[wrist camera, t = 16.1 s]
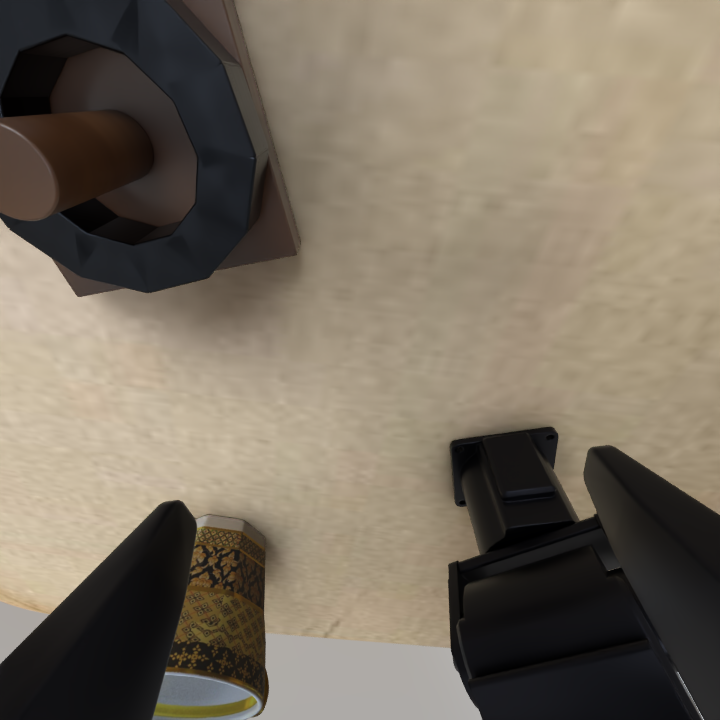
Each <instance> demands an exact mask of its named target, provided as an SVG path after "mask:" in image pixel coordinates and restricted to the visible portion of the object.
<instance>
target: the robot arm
mask: <svg viewBox="0 0 720 720" xmlns="http://www.w3.org/2000/svg"><path fill="white" fill-rule="evenodd" d="M557 442H558V433H557V432H556V430H555V429H554V428H552V427H545V428H538V429H531V430H523V431H516V432H509V433H502V434H495V435H488V436H481V437H473V438H466V439H459V440H455V441H453V442H452V443H451V444H450V452H451V464H452V476H453V489H454V499H455V503H456V505H457V506H460V507H464V506H467V508H468V512H469V515H470V519H471V523H472V526H473V530H474V534H475V537H476V541H477V545H478V549H479V552H480V555H479V556H476V557H473V558H470V559H467V560H464V561H461V562H459V561H455V562H452V563H449V565H448V567H449V579H448V588H449V613H450V639H451V652H452V655H453V663H454V666H455V668H456V670H457V671H458V672H459V674H460V677H461V679H462V682H463V684H464V687H465V689H466V691H467V693H468V695H469V697H470V699H471V700H472V702H473V703H474V705H475V706H476V707H477V708H478V709H479V711H480V714H481V717H482V720H703V719H704V720H720V515H719V514H717V513H716V512H714V511H713V510H711V509H709V508H708V507H706V506H705V505H703V504H702V503H700V502H699V501H697V500H696V499H694V498H692V497H691V496H689V495H688V494H686V493H685V492H683V491H682V490H680V489H679V488H677V487H676V486H674V485H672V484H671V483H669V482H668V481H666V480H665V479H663V478H662V477H660V476H659V475H657V474H656V473H654V472H652V471H651V470H649V469H648V468H646V467H645V466H643V465H642V464H640V463H639V462H637V461H635V460H634V459H632V458H631V457H629V456H628V455H626V454H625V453H623V452H622V451H620V450H619V449H617V448H615V447H613V446H610V445H605V446H597V447H591V448H590V449H589V450H588V453H587V458H586V463H585V468H584V481H585V484H586V487H587V489H588V491H589V494H590V496H591V499H592V501H593V503H594V506H595V508H596V511H597V514H594V517H591V518H588V519H585V520H582V521H580V520H579V518H578V516H577V514H576V513H575V511H574V509H573V507H572V505H571V503H570V501H569V499H568V497H567V495H566V494H565V492H564V490H563V488H562V486H561V484H560V482H559V480H558V478H557V476H556V474H555V473H554V471H553V469H554V463H555V456H556V449H557ZM458 447H459V448H458ZM196 534H197V522H196V520H195V518H194V517H193V515H192V514H191V513H190V511H189V510H188V508H187V507H186V506H185V504H184V503H183V502H182V501H180V500H175V501H168V502H163V503H161V504H160V505H159V506H158V507H157V508H156V509H155V510H154V511H153V512H152V513H151V514H150V515H149V516H148V517H147V518H146V519H145V520H144V521H143V522H142V523H141V524H140V525H139V526H138V527H137V528H136V529H135V530H134V531H133V532H132V533H131V534H130V535H129V536H128V537H127V538H126V539H125V540H124V541H123V542H122V543H121V544H120V545H119V546H118V547H117V548H116V549H115V550H114V551H113V552H112V553H111V554H110V555H109V556H108V557H107V558H106V559H105V560H104V561H103V562H102V563H101V564H100V565H99V566H98V567H97V568H96V569H95V570H94V571H93V572H92V573H91V574H90V575H89V576H88V577H87V578H86V579H85V580H84V581H83V582H82V583H81V584H80V585H79V586H78V587H77V588H76V589H75V590H74V591H73V592H72V593H71V594H70V595H69V596H68V597H67V598H66V599H65V600H64V601H63V602H62V603H61V604H60V605H59V606H58V607H57V608H56V609H55V610H54V611H53V612H52V613H51V614H50V615H49V616H48V617H47V618H46V619H45V620H44V621H43V622H42V623H41V624H40V625H39V626H38V627H37V628H36V629H35V630H34V631H33V632H32V633H31V634H30V635H29V636H28V637H27V638H26V639H25V640H24V641H23V642H22V643H21V644H20V645H19V646H18V647H17V648H16V649H15V650H14V651H13V652H12V653H11V654H10V655H9V656H8V657H7V658H6V659H5V660H4V661H3V662H2V663H1V664H0V720H152V719H153V715H154V712H155V708H156V704H157V701H158V697H159V693H160V690H161V686H162V682H163V679H164V675H165V671H166V668H167V664H168V660H169V657H170V653H171V649H172V646H173V642H174V638H175V635H176V631H177V627H178V624H179V620H180V616H181V613H182V609H183V605H184V601H185V596H186V591H187V586H188V580H189V575H190V569H191V563H192V557H193V551H194V546H195V540H196ZM619 567H620V568H619ZM616 568H617V569H616ZM612 569H613V570H612ZM609 570H610V571H609ZM677 672H679V674H680V676H681V678H682V680H683V681H684V683H683V682H682V680H681V678H680V676H679V674H678V673H677ZM684 684H685V685H686V687H687V689H688V691H689V692H688V691H687V689H686V687H685V685H684ZM689 693H690V694H691V696H692V698H693V700H694V701H693V700H692V698H691V696H690V694H689ZM694 702H695V703H694ZM695 704H696V705H695ZM696 706H697V707H698V709H699V711H700V713H701V715H702V717H703V719H702V717H701V715H700V713H699V711H698V709H697V707H696Z"/></svg>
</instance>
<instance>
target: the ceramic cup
mask: <svg viewBox="0 0 720 720" xmlns="http://www.w3.org/2000/svg"><path fill="white" fill-rule="evenodd" d="M195 520H196V522H197V534H196V540H195V546H194V551H193V557H192V563H191V569H190V575H189V580H188V586H187V591H186V596H185V601H184V605H183V609H182V613H181V616H180V620H179V624H178V627H177V631H176V635H175V638H174V642H173V646H172V649H171V653H170V657H169V660H168V664H167V668H166V671H165V675H164V679H163V682H162V686H161V690H160V693H159V697H158V701H157V704H156V708H155V712H154V715H153V719H152V720H246V719H248V718H251V717H256V716H258V715H260V714H261V713H262V711H263V710H264V708H265V705H266V702H267V698H268V692H269V684H268V676H267V672H266V669H265V645H266V642H265V622H264V594H265V554H266V552H265V545H266V542H265V538H264V536H263V535H262V534H261V533H259V532H258V531H257V530H256V529H254V528H253V527H252V526H251V525H249V524H248V523H247V522H245V521H244V520H241V519H234V518H227V517H221V516H214V515H206V516H203V517H200V518H198V519H195Z"/></svg>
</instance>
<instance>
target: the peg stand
mask: <svg viewBox="0 0 720 720" xmlns="http://www.w3.org/2000/svg"><path fill="white" fill-rule="evenodd" d="M182 1H183V3H184V4H185V5H186V6H187V7H188V8H189V9H190V10H191V11H192V12H193V14H194V15H195V16H196V17H197V18H198V19H199V20H200V21H201V22H202V23H203V25H204V26H205V27H206V28H207V29H208V30H209V31H210V32H211V33H212V34H213V36H214V37H215V38H216V39H217V40H218V41H219V42H220V43H221V44H222V45H223V47H224V48H225V49H226V50H227V51H228V52H229V53H230V54H231V55H232V56H233V58H234V59H235V60H236V61H237V62H238V63H239V64H240V67H241V68H242V70H243V73H244V76H245V79H246V82H247V85H248V88H249V91H250V94H251V97H252V100H253V103H254V106H255V109H256V111H257V114H258V117H259V120H260V123H261V126H262V129H263V132H264V135H265V138H266V141H267V144H268V151H269V154H268V161H267V168H266V176H265V183H264V190H263V198H262V205H261V212H260V216H259V218H258V220H257V221H256V222H255V224H254V225H253V227H252V228H251V229H250V231H249V232H248V233H247V234H246V236H245V237H244V238H243V239H242V240H241V241H240V243H239V244H238V245H237V246H236V247H235V248H234V249H233V251H232V252H231V253H230V254H229V255H228V256H227V258H226V259H225V260H224V261H223V262H222V263H221V265H220V266H219V267H218V268H217V269H216V270H215V271H217V270H222V269H227V268H232V267H237V266H242V265H248V264H253V263H258V262H263V261H268V260H274V259H279V258H284V257H289V256H294V255H297V253H298V250H299V247H300V245H301V241H300V237H299V234H298V230H297V227H296V223H295V220H294V216H293V212H292V209H291V205H290V202H289V198H288V195H287V191H286V187H285V184H284V180H283V177H282V173H281V170H280V166H279V162H278V159H277V155H276V152H275V148H274V145H273V141H272V137H271V134H270V130H269V127H268V123H267V120H266V116H265V112H264V109H263V105H262V102H261V98H260V95H259V91H258V87H257V84H256V80H255V77H254V73H253V70H252V66H251V62H250V59H249V55H248V52H247V48H246V45H245V41H244V37H243V34H242V30H241V27H240V23H239V20H238V16H237V12H236V9H235V5H234V2H233V0H182ZM49 104H50V111H51V114H43V115H30V116H17V117H4V118H0V213H2V214H5V215H7V216H9V217H12V218H15V219H19V220H25V221H37V220H42V219H45V218H47V217H49V216H52V215H54V214H57V213H59V212H62V211H64V210H66V209H69V208H71V207H74V206H76V205H78V204H81V203H83V202H86V201H88V200H91V199H93V198H96V199H97V200H98V201H100V202H101V203H102V204H103V205H105V206H106V207H107V208H109V209H110V210H111V211H113V212H114V213H115V214H116V215H118V216H119V217H122V218H126V219H130V220H133V221H137V222H141V223H145V224H148V225H152V226H156V227H161V226H165V225H168V224H172V223H176V222H179V221H182V220H183V218H184V217H185V216H186V214H187V213H188V212H189V210H190V209H191V208H192V206H193V205H194V204H195V192H196V169H197V155H196V153H195V151H194V148H193V146H192V144H191V141H190V139H189V137H188V134H187V132H186V130H185V128H184V125H183V123H182V121H181V118H180V116H179V114H178V112H177V109H176V107H175V105H174V102H173V101H172V100H171V99H170V98H169V97H168V96H167V95H166V94H165V93H164V92H163V91H162V90H161V89H160V88H159V87H158V86H156V85H155V84H154V83H153V82H152V81H151V80H150V79H149V78H148V77H147V76H146V75H145V74H144V73H143V72H142V71H141V70H140V69H139V68H138V67H137V66H136V65H135V64H134V63H133V62H132V61H131V60H130V59H129V58H127V57H126V56H125V55H123V54H120V53H117V52H114V51H111V50H108V49H105V48H102V47H97V48H95V49H92V50H89V51H86V52H83V53H80V54H77V55H74V56H71V57H69V58H67V60H66V62H65V64H64V66H63V68H62V70H61V73H60V75H59V77H58V79H57V81H56V83H55V85H54V87H53V89H52V91H51V93H50V95H49ZM53 261H54V262H55V264H56V265H57V267H58V268H59V270H60V271H61V273H62V274H63V276H64V277H65V279H66V280H67V282H68V283H69V285H70V286H71V288H72V289H73V291H74V292H75V294H76V295H77V296H78V297H82V296H87V295H92V294H98V293H103V292H108V291H113V290H118V289H123V288H124V287H119V286H115V285H111V284H107V283H103V282H98V281H94V280H90V279H86V278H81V277H80V276H77V275H76V274H74V273H73V272H72V271H70V270H69V269H67V268H66V267H64V266H63V265H61V264H60V263H58V262H57V261H55V260H54V259H53Z"/></svg>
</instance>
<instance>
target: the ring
mask: <svg viewBox="0 0 720 720" xmlns="http://www.w3.org/2000/svg"><path fill="white" fill-rule="evenodd" d="M97 47H102V48H105V49H108V50H111V51H114V52H117V53H120V54H123V55H125V56H126V57H127V58H129V59H130V60H131V61H132V62H133V63H134V64H135V65H136V66H137V67H138V68H139V69H140V70H141V71H142V72H143V73H144V74H145V75H146V76H147V77H148V78H149V79H150V80H151V81H152V82H153V83H154V84H155V85H156V86H158V87H159V88H160V89H161V90H162V91H163V92H164V93H165V94H166V95H167V96H168V97H169V98H170V99H171V100H172V101H173V102H174V105H175V107H176V109H177V112H178V114H179V116H180V118H181V121H182V123H183V125H184V128H185V130H186V132H187V134H188V137H189V139H190V141H191V144H192V146H193V148H194V151H195V153H196V155H197V169H196V192H195V204H194V205H193V206H192V208H191V209H190V210H189V212H188V213H187V214H186V216H185V217H184V218H183V220H182V221H179V222H176V223H172V224H168V225H165V226H161V227H156V226H152V225H148V224H145V223H141V222H137V221H133V220H130V219H126V218H122V217H119V216H118V215H116V214H115V213H114V212H113V211H111V210H110V209H109V208H107V207H106V206H105V205H103V204H102V203H101V202H100V201H98V200H97V199H96V198H93V199H91V200H88V201H86V202H83V203H81V204H78V205H76V206H74V207H71V208H69V209H66V210H64V211H62V212H59V213H57V214H54V215H52V216H49V217H47V218H45V219H42V220H37V221H25V220H19V219H15V218H12V217H9V216H7V215H5V214H2V213H0V218H1V219H2V221H3V222H4V223H5V225H6V226H7V227H8V228H10V230H11V231H12V232H14V233H15V234H17V235H18V236H20V237H21V238H23V239H24V240H26V241H27V242H29V243H30V244H32V245H33V246H35V247H36V248H38V249H39V250H41V251H42V252H43V253H45V254H46V255H48V256H49V257H51V258H52V259H54V260H55V261H57V262H58V263H60V264H61V265H63V266H64V267H66V268H67V269H69V270H70V271H72V272H73V273H74V274H76V275H77V276H80V277H81V278H86V279H90V280H94V281H98V282H103V283H107V284H111V285H115V286H119V287H124V288H128V289H132V290H136V291H141V292H145V293H152V292H156V291H160V290H164V289H168V288H172V287H176V286H180V285H184V284H188V283H192V282H196V281H200V280H204V279H207V278H209V277H210V276H211V275H212V274H213V273H214V271H215V270H216V269H217V268H218V267H219V266H220V265H221V263H222V262H223V261H224V260H225V259H226V258H227V256H228V255H229V254H230V253H231V252H232V251H233V249H234V248H235V247H236V246H237V245H238V244H239V243H240V241H241V240H242V239H243V238H244V237H245V236H246V234H247V233H248V232H249V231H250V229H251V228H252V227H253V225H254V224H255V222H256V221H257V220H258V218H259V216H260V212H261V205H262V198H263V190H264V183H265V176H266V168H267V161H268V154H269V151H268V144H267V141H266V138H265V135H264V132H263V129H262V126H261V123H260V120H259V117H258V114H257V111H256V109H255V106H254V103H253V100H252V97H251V94H250V91H249V88H248V85H247V82H246V79H245V76H244V73H243V70H242V68H241V67H240V64H239V63H238V62H237V61H236V60H235V59H234V58H233V56H232V55H231V54H230V53H229V52H228V51H227V50H226V49H225V48H224V47H223V45H222V44H221V43H220V42H219V41H218V40H217V39H216V38H215V37H214V36H213V34H212V33H211V32H210V31H209V30H208V29H207V28H206V27H205V26H204V25H203V23H202V22H201V21H200V20H199V19H198V18H197V17H196V16H195V15H194V14H193V12H192V11H191V10H190V9H189V8H188V7H187V6H186V5H185V4H184V3H183V1H182V0H0V118H4V117H17V116H30V115H43V114H51V111H50V104H49V95H50V93H51V91H52V89H53V87H54V85H55V83H56V81H57V79H58V77H59V75H60V73H61V70H62V68H63V66H64V64H65V62H66V60H67V58H69V57H71V56H74V55H77V54H80V53H83V52H86V51H89V50H92V49H95V48H97Z"/></svg>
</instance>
